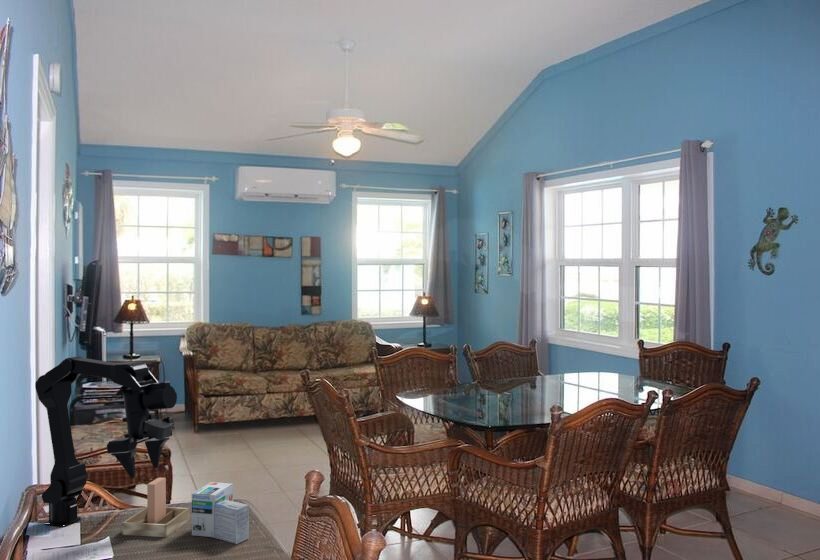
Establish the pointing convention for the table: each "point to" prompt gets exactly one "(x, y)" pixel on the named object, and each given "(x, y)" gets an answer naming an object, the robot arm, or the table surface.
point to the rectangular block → (156, 500)
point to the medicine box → (231, 521)
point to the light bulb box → (208, 506)
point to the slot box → (156, 523)
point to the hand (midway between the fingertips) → (144, 472)
